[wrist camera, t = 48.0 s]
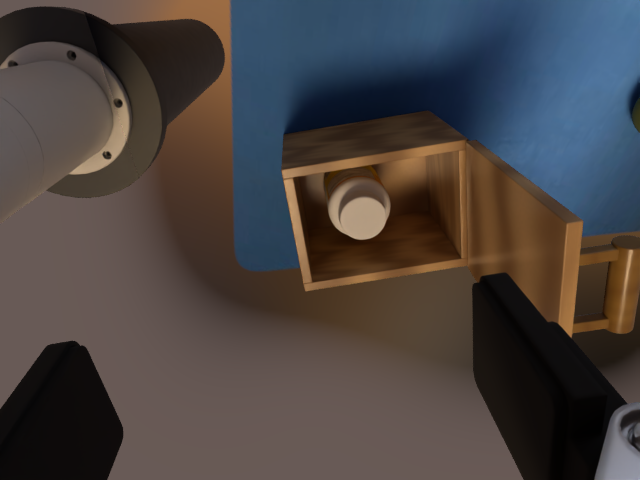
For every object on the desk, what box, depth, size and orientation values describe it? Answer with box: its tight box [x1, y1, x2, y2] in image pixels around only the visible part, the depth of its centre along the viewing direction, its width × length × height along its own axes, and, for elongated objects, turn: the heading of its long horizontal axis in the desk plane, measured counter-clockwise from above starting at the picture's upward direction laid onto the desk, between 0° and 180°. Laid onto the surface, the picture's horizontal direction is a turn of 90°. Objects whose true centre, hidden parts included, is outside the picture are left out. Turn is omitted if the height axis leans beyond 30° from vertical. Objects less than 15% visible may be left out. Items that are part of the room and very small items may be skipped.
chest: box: [281, 110, 469, 291], centre depth 44 cm, size 15×11×12 cm
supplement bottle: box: [323, 165, 391, 240], centre depth 44 cm, size 6×6×10 cm
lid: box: [466, 140, 640, 338], centre depth 32 cm, size 15×11×5 cm
